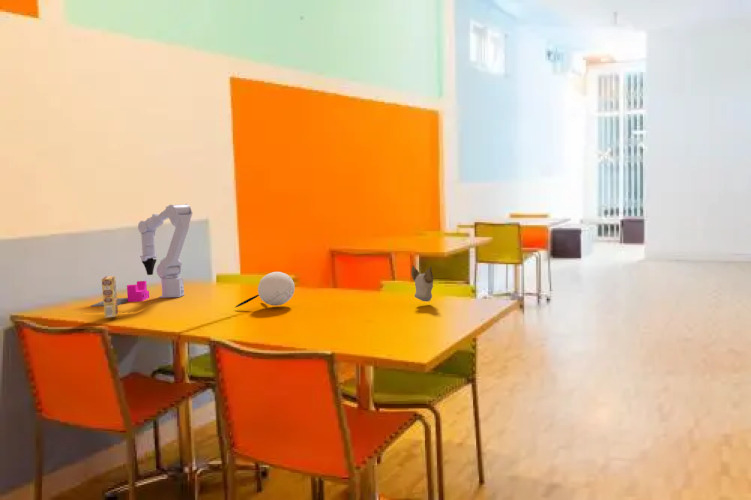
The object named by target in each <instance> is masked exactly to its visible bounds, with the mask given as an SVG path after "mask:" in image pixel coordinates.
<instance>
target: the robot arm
mask: <svg viewBox="0 0 751 500" xmlns="http://www.w3.org/2000/svg"><path fill="white" fill-rule="evenodd" d="M151 215H152V216H150V217H148V218H146V219H145V220H140V221H139V222H138V224H137V229H138V232H139V233H140V236H141V238H140V239H141V250H142V255H140V256H139V257H140V258H141V261H140V262H141V263H142V264H143V266H144V268H145V271H146V275H147V276H153V275H154V269H155V265H156V263H157V255H158V254H157V253H156V248H155V236H156V231H157V229H158V228H159V227H161V226H162V225H163V224H164V221H167V220H168V219H169V221H170V223H171V224H172V226H173V227H175V228H174V230H173V234H172V237H171V239H170V240H171V241H170V242H169V243H170V244H169V247H168V250H167V253H166V256H165V257H164V258H162V259H161V260H160V261H159V264H158V265H157V267H156V274H157V275H158V277H159V278H160V280H161V281H160V282H161V293H162V294H161V295H160V296H159V297H158V298H181V297H182V296H184V295H185V285H184V279H183V277H179V275H180V274H181V272H182V265H183V263H182V261H181V260H180V256H181V251H182V249H183V246H184V243H185V240H186V237H187V234H188V232H189V231H188V230H189V227H190V222H191V219H192V216H193V211H192V208H191V206H190V204H188V203H184V204H169V205H168V206H165V209H163V210H162V211H161V212H160V213H153V214H151Z"/></svg>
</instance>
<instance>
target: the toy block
mask: <svg viewBox="0 0 751 500" xmlns="http://www.w3.org/2000/svg"><path fill="white" fill-rule="evenodd" d="M147 286H148V285H147V280H138V281H136V284H127V285H126V293H127V298H128V301H127V303H128V302H132V303H133V302H134V303H135V302H143V301H145V300H148V299H150V290H148V288H147Z"/></svg>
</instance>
